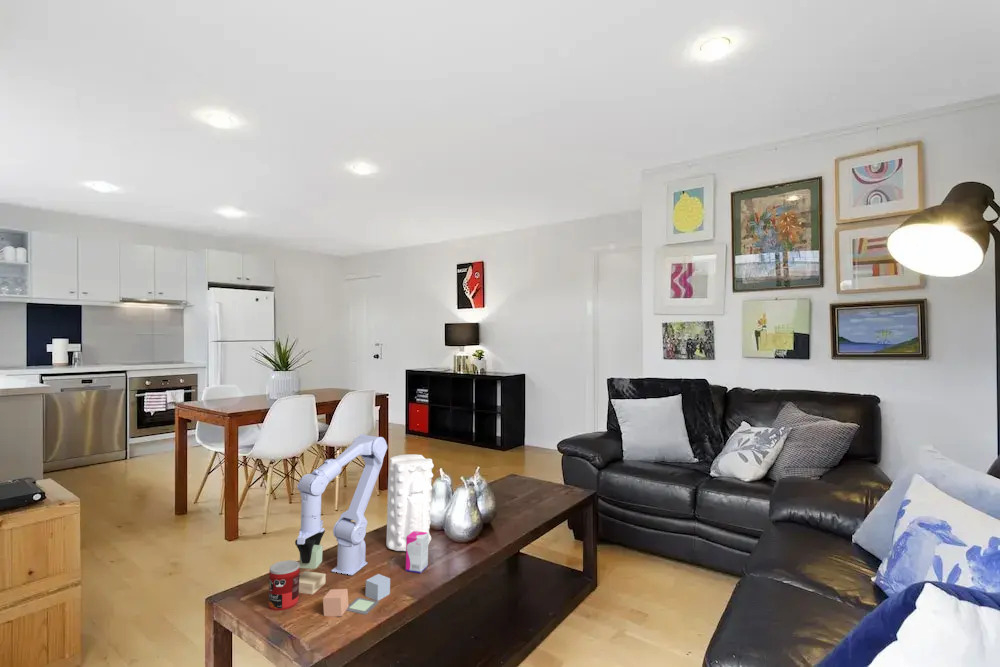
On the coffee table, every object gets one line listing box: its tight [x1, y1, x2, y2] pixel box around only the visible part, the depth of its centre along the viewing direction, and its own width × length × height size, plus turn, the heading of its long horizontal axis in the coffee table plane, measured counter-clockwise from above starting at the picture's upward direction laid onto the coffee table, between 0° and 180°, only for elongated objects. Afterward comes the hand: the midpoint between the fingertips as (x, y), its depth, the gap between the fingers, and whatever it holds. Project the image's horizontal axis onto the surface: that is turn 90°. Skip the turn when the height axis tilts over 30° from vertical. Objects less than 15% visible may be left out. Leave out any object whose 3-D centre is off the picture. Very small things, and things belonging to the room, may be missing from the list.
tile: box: [345, 597, 380, 616], centre depth 144 cm, size 7×7×1 cm
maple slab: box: [299, 570, 327, 596], centre depth 154 cm, size 7×7×4 cm
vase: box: [385, 453, 435, 552], centre depth 189 cm, size 17×16×32 cm
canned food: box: [268, 559, 301, 611], centre depth 145 cm, size 8×8×11 cm
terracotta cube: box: [322, 588, 350, 617], centre depth 141 cm, size 5×5×5 cm
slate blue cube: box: [365, 573, 391, 602], centre depth 151 cm, size 5×5×5 cm
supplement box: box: [405, 531, 430, 574], centre depth 169 cm, size 6×6×12 cm
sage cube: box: [299, 544, 324, 570], centre depth 154 cm, size 5×5×5 cm
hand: (309, 558), depth 154 cm, fingers closed on sage cube, 5 cm apart
